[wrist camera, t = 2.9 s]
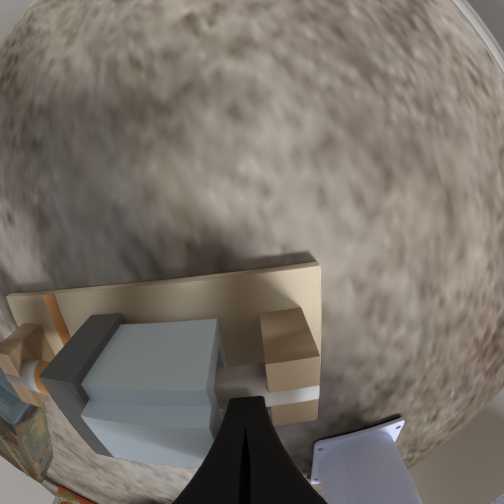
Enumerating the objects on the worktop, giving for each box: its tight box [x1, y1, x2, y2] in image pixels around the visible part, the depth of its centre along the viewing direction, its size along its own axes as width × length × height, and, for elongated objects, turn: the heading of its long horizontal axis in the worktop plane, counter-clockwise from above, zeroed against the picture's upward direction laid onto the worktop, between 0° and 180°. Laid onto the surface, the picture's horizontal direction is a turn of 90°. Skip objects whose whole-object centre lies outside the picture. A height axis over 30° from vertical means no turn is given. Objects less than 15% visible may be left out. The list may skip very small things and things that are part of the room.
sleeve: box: [81, 318, 228, 468], centre depth 10 cm, size 5×5×6 cm
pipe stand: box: [0, 262, 321, 426], centre depth 12 cm, size 20×8×4 cm, turn 97°
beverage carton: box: [0, 366, 53, 483], centre depth 14 cm, size 8×19×7 cm, turn 152°
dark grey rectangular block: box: [39, 314, 125, 460], centre depth 11 cm, size 2×5×5 cm, turn 7°
